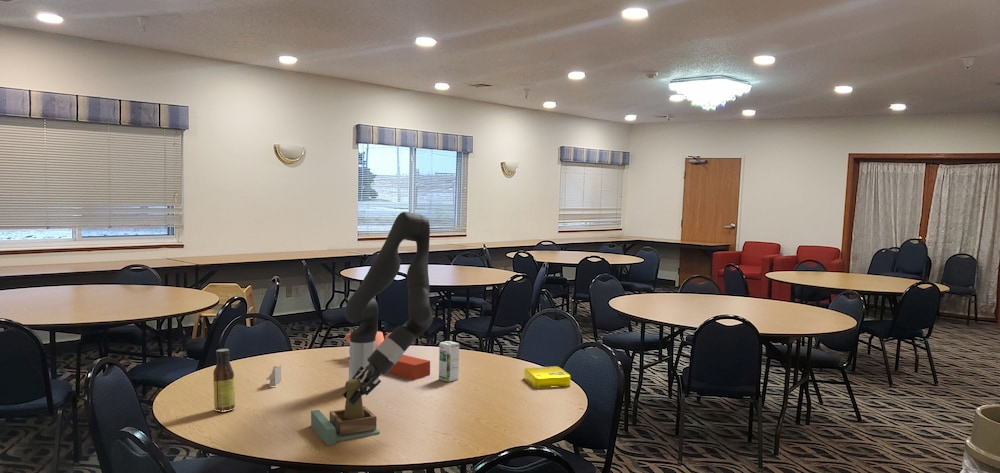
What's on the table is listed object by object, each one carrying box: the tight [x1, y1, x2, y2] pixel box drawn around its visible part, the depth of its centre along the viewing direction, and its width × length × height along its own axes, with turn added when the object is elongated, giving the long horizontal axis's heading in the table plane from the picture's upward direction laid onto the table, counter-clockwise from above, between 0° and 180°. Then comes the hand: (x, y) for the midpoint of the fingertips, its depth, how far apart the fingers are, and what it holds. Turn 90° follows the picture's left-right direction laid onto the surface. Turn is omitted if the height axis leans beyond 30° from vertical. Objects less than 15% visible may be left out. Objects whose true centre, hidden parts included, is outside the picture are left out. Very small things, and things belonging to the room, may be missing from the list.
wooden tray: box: [329, 405, 378, 436], centre depth 195 cm, size 11×11×4 cm
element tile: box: [523, 366, 572, 389], centre depth 250 cm, size 15×15×5 cm
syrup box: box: [438, 340, 460, 383], centre depth 251 cm, size 6×6×14 cm
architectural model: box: [265, 364, 282, 387], centre depth 239 cm, size 3×7×7 cm, turn 177°
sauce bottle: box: [212, 348, 236, 411], centre depth 210 cm, size 7×6×20 cm
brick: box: [387, 354, 431, 381], centre depth 259 cm, size 18×9×6 cm, turn 52°
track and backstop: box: [310, 409, 381, 446], centre depth 194 cm, size 18×16×5 cm
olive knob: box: [344, 379, 364, 419], centre depth 195 cm, size 6×6×11 cm
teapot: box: [344, 330, 392, 354], centre depth 280 cm, size 17×16×13 cm
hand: (347, 399), depth 194 cm, fingers closed on olive knob, 5 cm apart
